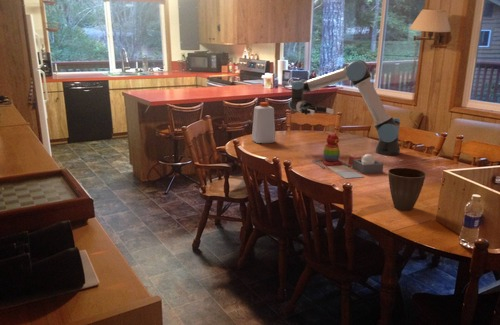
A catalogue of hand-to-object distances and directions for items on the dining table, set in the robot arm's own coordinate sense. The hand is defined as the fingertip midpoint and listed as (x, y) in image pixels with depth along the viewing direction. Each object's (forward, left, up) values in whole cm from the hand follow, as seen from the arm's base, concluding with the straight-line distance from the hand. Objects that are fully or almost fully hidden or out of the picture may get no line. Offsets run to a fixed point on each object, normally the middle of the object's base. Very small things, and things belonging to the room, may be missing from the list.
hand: (323, 112), depth 252 cm
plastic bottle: (+20, -57, -29) cm, 67 cm away
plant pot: (-2, +82, -29) cm, 87 cm away
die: (-15, +14, -29) cm, 36 cm away
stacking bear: (-2, +10, -29) cm, 31 cm away
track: (-2, +20, -29) cm, 35 cm away
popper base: (-16, +27, -29) cm, 43 cm away
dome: (-16, +27, -28) cm, 42 cm away
